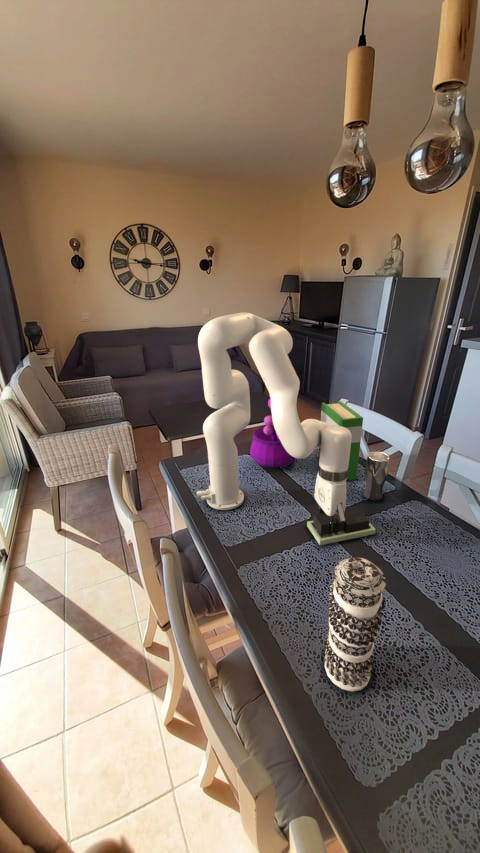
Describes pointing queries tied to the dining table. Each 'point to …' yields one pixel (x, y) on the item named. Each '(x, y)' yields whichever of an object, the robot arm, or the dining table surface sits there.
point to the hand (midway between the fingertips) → (328, 525)
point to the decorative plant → (269, 446)
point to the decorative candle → (353, 622)
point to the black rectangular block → (324, 523)
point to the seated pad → (355, 522)
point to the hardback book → (351, 421)
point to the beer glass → (376, 474)
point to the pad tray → (338, 534)
